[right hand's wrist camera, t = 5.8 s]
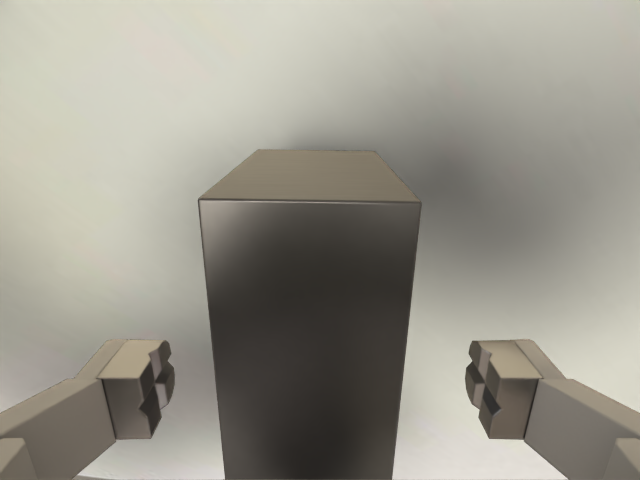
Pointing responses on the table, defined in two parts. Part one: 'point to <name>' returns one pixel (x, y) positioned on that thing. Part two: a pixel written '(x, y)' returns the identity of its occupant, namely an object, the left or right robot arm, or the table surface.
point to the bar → (309, 312)
